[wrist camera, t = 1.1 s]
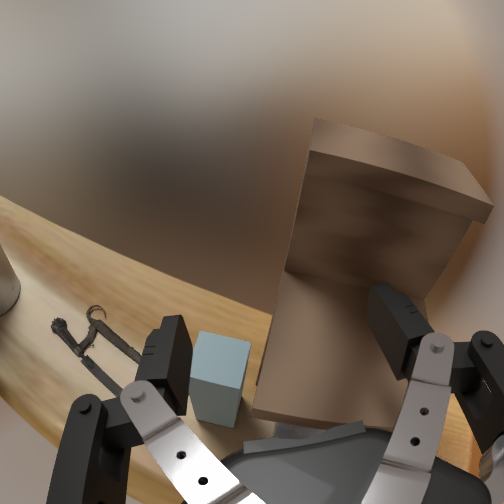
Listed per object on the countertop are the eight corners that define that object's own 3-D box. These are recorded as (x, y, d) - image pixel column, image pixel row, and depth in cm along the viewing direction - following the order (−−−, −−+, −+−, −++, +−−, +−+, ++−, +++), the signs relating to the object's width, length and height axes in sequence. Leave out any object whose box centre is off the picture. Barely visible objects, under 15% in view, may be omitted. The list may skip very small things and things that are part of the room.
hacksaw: (50, 328, 34) (46, 321, 33) (101, 284, 41) (99, 277, 40) (183, 453, 26) (181, 451, 25) (239, 384, 32) (239, 379, 31)
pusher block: (196, 418, 28) (184, 375, 20) (205, 386, 31) (200, 330, 23) (233, 428, 28) (240, 389, 20) (241, 395, 31) (251, 342, 23)
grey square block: (268, 449, 27) (272, 445, 25) (279, 400, 31) (283, 392, 30) (324, 458, 26) (331, 454, 25) (331, 409, 31) (338, 402, 29)
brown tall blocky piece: (236, 460, 25) (286, 286, 7) (262, 354, 35) (314, 117, 17) (331, 475, 24) (558, 335, 6) (343, 370, 34) (462, 162, 16)
